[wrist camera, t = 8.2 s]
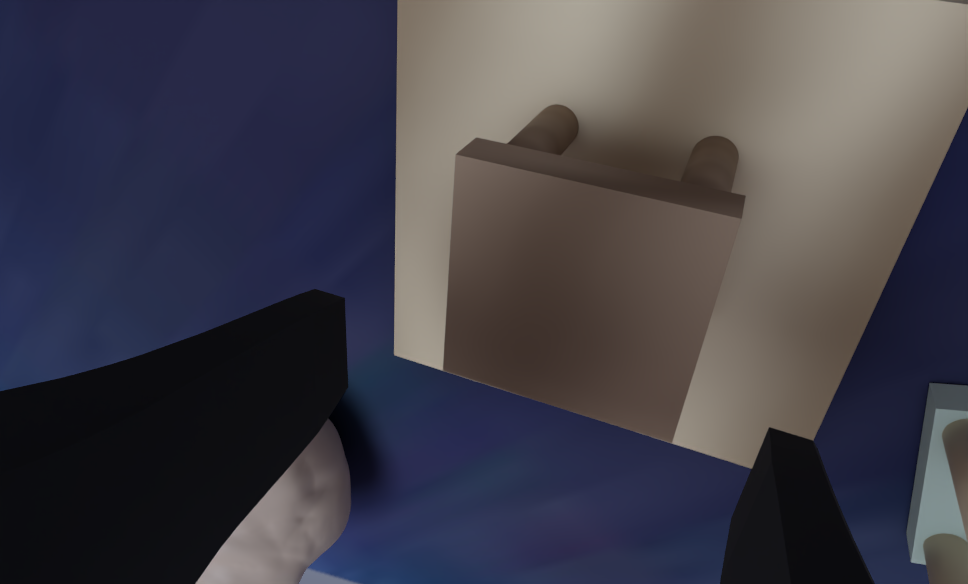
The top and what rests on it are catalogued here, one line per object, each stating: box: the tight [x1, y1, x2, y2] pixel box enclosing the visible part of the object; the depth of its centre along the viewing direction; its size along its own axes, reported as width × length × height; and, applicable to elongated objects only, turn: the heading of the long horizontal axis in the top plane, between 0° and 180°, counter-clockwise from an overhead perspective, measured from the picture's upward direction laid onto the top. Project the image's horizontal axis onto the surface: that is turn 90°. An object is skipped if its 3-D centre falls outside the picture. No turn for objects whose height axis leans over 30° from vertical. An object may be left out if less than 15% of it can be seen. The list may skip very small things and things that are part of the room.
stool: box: [443, 104, 746, 443], centre depth 15 cm, size 5×5×4 cm
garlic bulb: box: [196, 419, 351, 584], centre depth 23 cm, size 7×6×8 cm
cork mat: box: [394, 0, 968, 469], centre depth 17 cm, size 12×12×1 cm
